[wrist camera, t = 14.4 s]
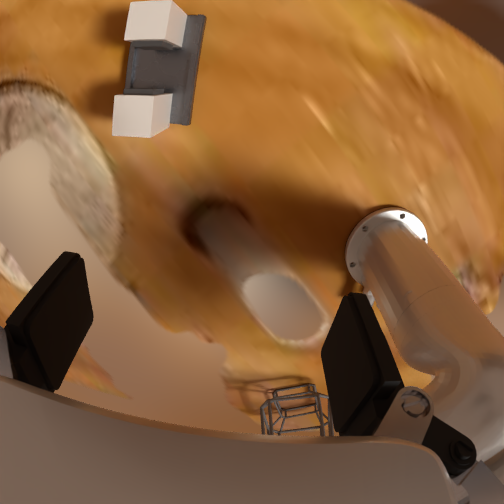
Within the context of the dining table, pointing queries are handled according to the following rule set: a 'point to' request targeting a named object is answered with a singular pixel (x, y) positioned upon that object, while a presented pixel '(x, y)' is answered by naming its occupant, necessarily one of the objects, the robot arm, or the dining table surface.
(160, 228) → the dining table surface
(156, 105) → the white rectangular block
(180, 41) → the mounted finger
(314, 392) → the geometric lantern
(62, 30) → the dining table surface
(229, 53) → the dining table surface
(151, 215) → the dining table surface
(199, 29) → the grey slab
